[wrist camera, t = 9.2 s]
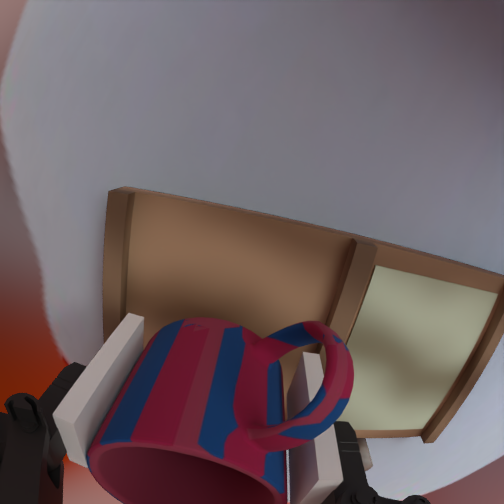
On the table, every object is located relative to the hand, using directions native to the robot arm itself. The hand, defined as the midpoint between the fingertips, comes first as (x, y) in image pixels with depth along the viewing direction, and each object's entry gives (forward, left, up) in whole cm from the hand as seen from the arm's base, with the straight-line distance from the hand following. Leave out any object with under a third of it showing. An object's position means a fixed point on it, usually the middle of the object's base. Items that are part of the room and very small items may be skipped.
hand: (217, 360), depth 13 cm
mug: (0, +1, 0) cm, 1 cm away
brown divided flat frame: (0, +5, -3) cm, 6 cm away
